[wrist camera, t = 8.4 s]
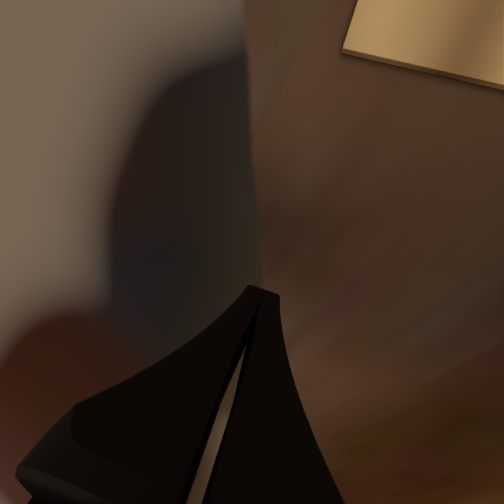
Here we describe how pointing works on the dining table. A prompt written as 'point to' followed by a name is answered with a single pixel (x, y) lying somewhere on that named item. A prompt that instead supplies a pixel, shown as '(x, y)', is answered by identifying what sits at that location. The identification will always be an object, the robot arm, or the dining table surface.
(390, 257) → the dining table surface
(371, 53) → the board
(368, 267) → the dining table surface
